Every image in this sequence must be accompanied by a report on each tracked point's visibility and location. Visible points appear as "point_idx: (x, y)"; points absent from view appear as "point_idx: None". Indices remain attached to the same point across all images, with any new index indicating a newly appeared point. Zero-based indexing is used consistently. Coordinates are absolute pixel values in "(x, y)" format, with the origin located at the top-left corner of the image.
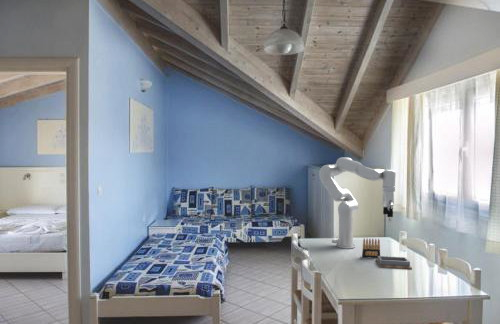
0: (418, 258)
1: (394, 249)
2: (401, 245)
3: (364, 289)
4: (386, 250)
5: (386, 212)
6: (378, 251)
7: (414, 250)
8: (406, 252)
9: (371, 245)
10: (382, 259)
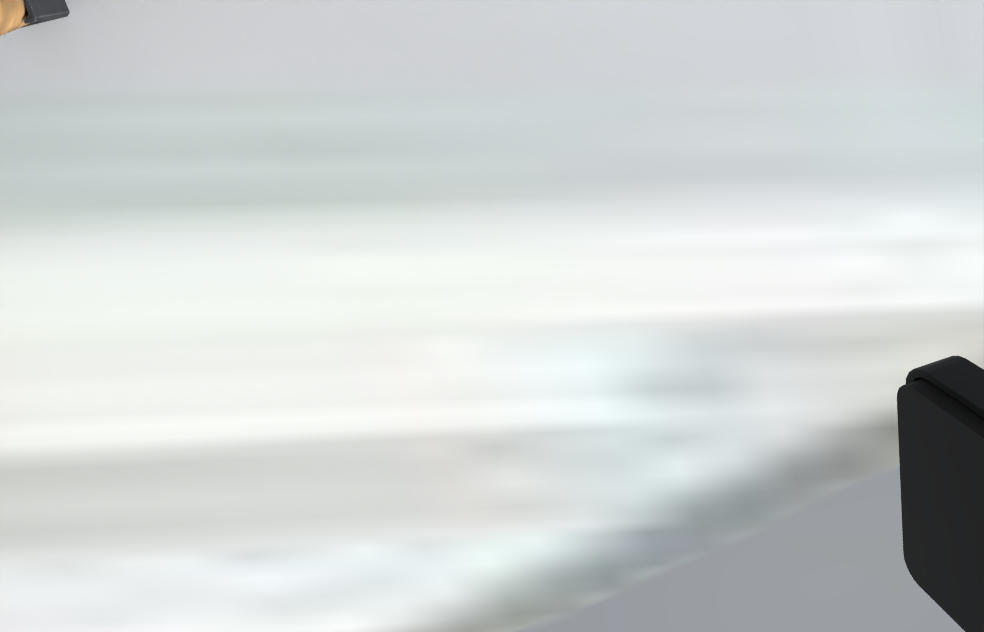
0: (304, 578)
1: (716, 255)
2: (973, 342)
3: None
4: (614, 134)
5: (967, 553)
6: None
7: (734, 508)
8: (588, 422)
9: None
10: None
